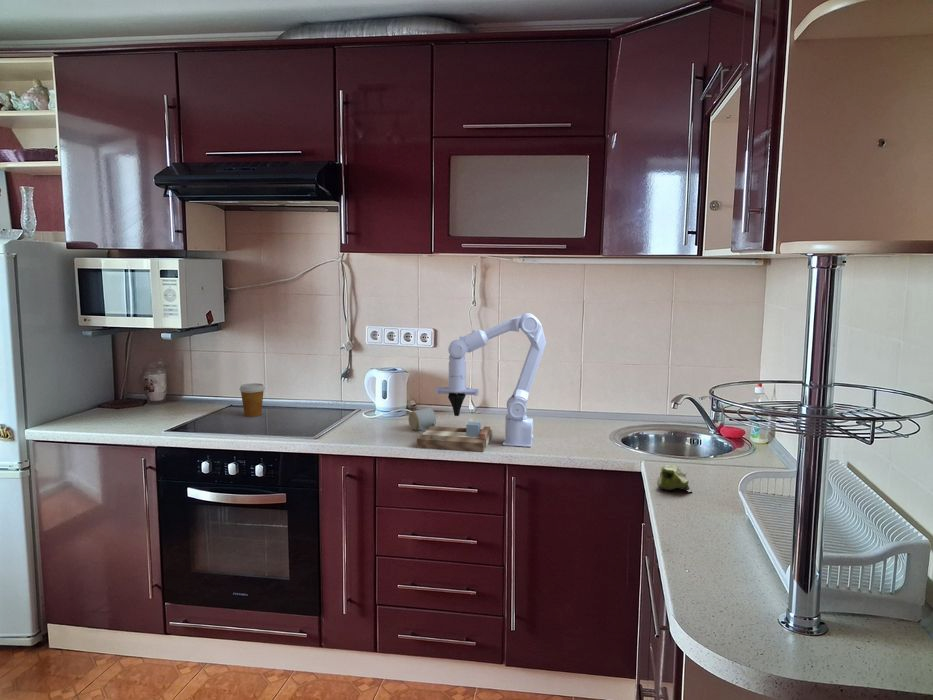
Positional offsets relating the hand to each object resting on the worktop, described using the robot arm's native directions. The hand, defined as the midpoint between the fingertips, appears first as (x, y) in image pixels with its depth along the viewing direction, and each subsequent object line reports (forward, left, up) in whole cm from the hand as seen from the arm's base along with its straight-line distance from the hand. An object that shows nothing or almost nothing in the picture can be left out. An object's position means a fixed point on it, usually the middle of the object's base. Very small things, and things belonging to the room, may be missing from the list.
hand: (456, 415), depth 222 cm
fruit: (-67, +33, -10) cm, 75 cm away
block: (-6, +1, -6) cm, 9 cm away
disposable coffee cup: (+87, -21, -10) cm, 90 cm away
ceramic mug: (+15, -14, -10) cm, 23 cm away
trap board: (0, +1, -9) cm, 9 cm away
